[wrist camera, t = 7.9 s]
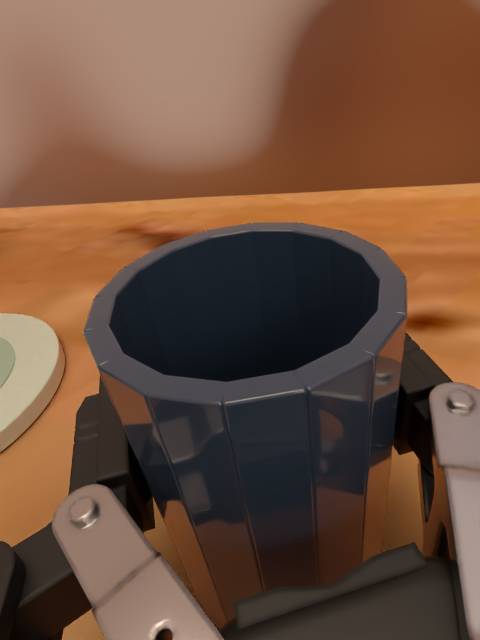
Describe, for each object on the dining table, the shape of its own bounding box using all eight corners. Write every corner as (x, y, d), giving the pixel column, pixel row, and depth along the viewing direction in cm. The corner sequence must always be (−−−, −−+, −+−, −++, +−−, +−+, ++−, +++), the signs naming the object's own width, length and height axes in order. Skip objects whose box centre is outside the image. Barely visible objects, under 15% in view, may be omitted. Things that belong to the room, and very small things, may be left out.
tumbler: (244, 709, 11) (142, 476, 5) (162, 515, 16) (60, 279, 10) (422, 573, 13) (488, 296, 7) (302, 437, 18) (286, 202, 12)
